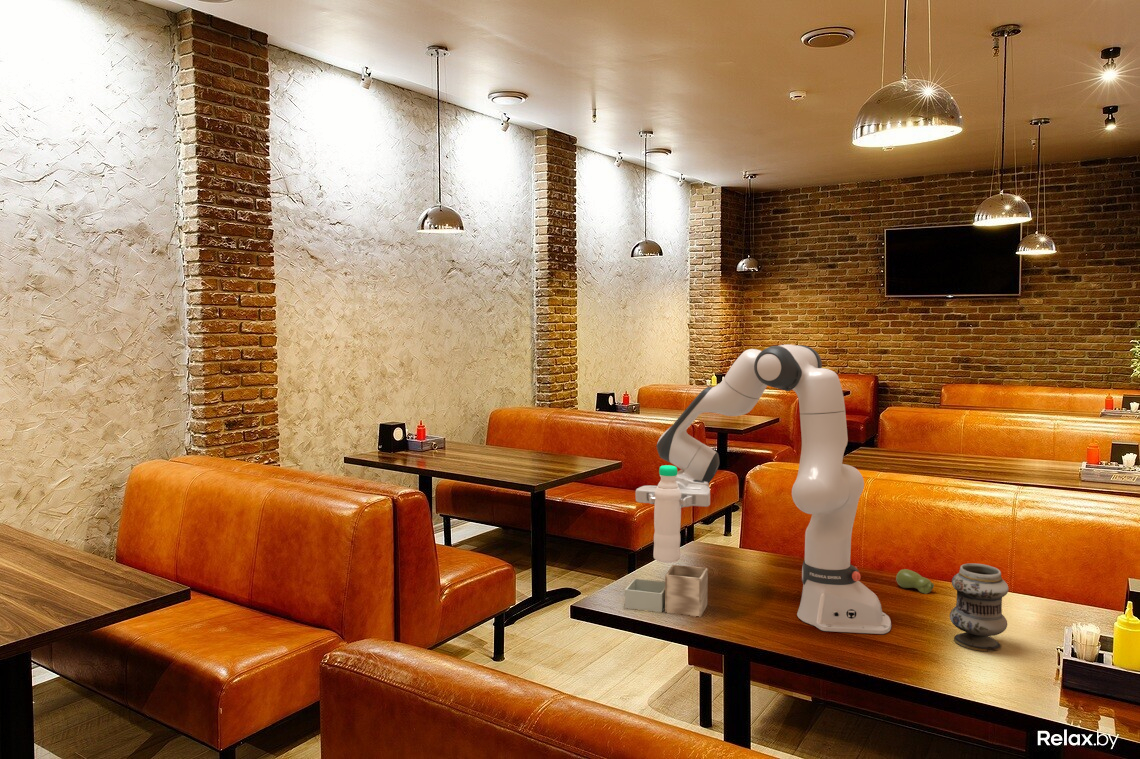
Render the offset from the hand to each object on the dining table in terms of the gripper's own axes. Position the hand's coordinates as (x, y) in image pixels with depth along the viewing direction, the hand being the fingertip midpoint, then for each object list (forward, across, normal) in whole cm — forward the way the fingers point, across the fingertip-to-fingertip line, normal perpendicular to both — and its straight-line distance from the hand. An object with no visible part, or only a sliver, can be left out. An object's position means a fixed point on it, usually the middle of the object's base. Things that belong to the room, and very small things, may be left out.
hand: (667, 501), depth 208 cm
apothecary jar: (-1, +74, +30) cm, 79 cm away
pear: (-37, +63, +30) cm, 79 cm away
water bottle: (-1, 0, +16) cm, 16 cm away
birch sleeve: (-1, +5, +28) cm, 29 cm away
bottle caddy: (-1, -6, +28) cm, 29 cm away
